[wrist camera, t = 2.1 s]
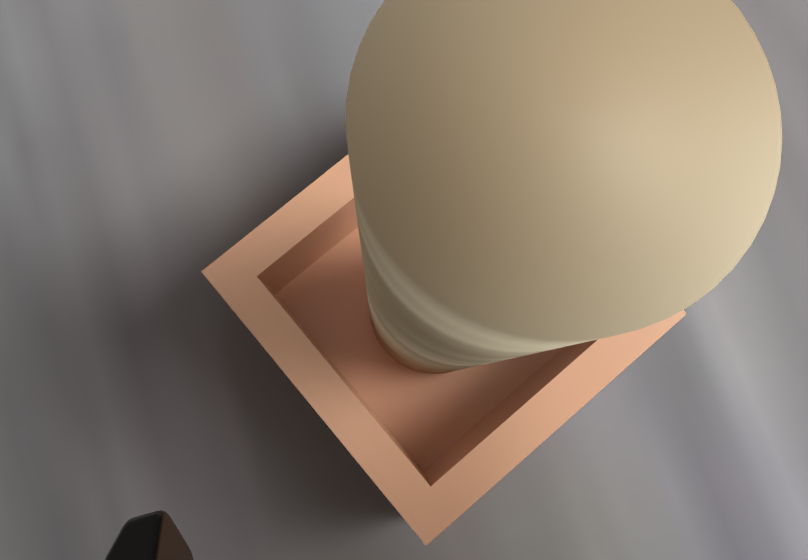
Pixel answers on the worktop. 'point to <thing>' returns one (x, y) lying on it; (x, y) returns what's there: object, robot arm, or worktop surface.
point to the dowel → (552, 168)
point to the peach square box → (399, 364)
